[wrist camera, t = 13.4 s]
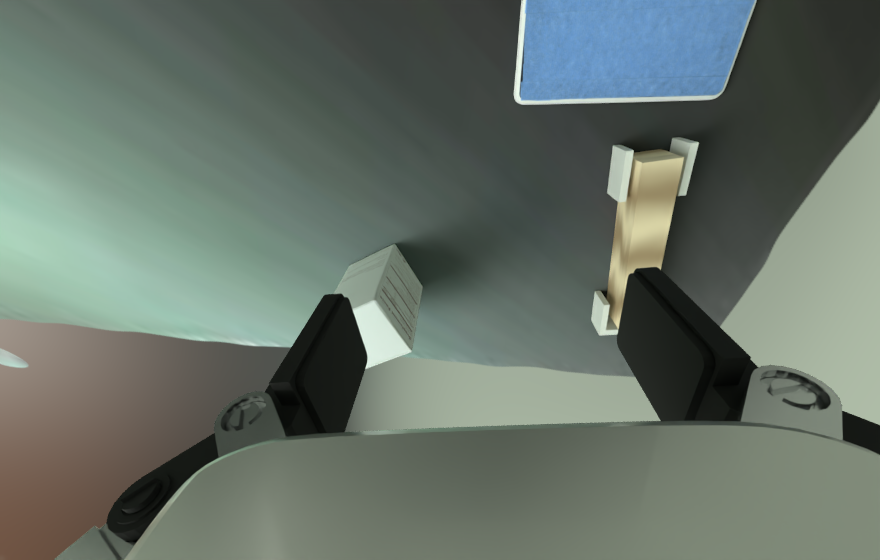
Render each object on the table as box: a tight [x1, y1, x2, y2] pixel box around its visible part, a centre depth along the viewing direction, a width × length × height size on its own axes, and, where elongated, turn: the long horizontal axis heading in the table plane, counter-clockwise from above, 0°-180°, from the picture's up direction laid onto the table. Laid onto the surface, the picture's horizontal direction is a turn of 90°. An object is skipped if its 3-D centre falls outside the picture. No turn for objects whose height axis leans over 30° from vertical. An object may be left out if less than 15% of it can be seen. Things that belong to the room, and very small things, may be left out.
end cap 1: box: [591, 291, 618, 335], centre depth 43 cm, size 5×6×3 cm
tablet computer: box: [514, 0, 757, 105], centre depth 29 cm, size 19×13×1 cm, turn 91°
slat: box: [606, 149, 684, 329], centre depth 38 cm, size 20×4×4 cm, turn 9°
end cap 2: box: [607, 137, 699, 202], centre depth 34 cm, size 5×6×3 cm
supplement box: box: [334, 244, 423, 369], centre depth 39 cm, size 7×7×13 cm
